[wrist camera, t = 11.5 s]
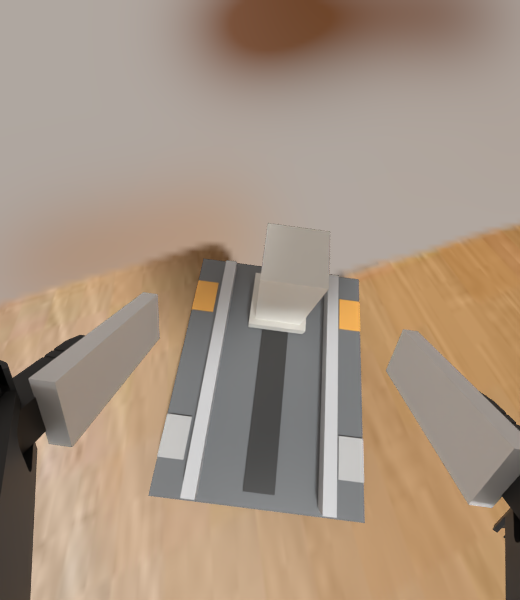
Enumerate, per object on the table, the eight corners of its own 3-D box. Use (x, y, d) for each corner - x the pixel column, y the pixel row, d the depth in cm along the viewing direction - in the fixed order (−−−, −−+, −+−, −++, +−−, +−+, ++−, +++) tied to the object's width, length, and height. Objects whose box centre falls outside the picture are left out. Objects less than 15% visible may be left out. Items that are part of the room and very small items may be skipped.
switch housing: (347, 290, 28) (363, 274, 24) (348, 505, 21) (372, 531, 17) (207, 272, 28) (201, 252, 24) (161, 481, 21) (141, 502, 17)
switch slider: (305, 284, 24) (338, 226, 16) (302, 334, 23) (337, 298, 14) (255, 278, 24) (260, 215, 16) (248, 327, 23) (250, 286, 14)
